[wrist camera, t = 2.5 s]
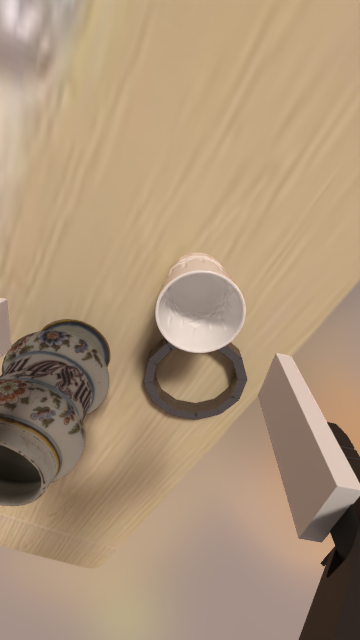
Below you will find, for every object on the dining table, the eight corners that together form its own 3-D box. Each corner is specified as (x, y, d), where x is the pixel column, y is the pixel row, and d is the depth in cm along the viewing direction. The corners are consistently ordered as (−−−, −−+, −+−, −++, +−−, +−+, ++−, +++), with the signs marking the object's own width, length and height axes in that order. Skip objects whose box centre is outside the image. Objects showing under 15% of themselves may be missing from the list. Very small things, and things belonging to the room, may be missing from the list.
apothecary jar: (30, 378, 40) (-76, 510, 24) (28, 302, 35) (-109, 404, 19) (114, 393, 41) (67, 529, 25) (124, 321, 36) (73, 433, 19)
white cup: (149, 271, 33) (136, 304, 24) (206, 232, 31) (215, 251, 22) (187, 321, 36) (188, 367, 27) (241, 288, 34) (262, 325, 24)
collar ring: (227, 415, 42) (228, 425, 40) (140, 399, 41) (138, 409, 39) (256, 340, 37) (259, 348, 35) (156, 320, 36) (154, 327, 34)
